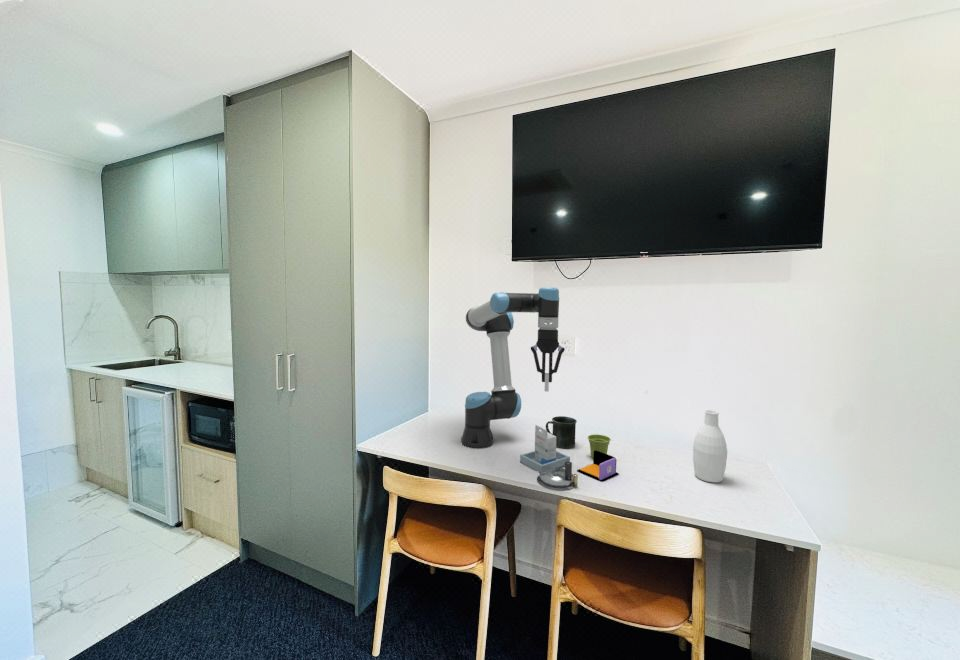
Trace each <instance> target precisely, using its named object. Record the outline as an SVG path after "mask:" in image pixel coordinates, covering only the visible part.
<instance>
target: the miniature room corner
mask: <svg viewBox="0 0 960 660" xmlns="http://www.w3.org/2000/svg"><path fill="white" fill-rule="evenodd" d="M592 459H593V461H592V463H591V464H588V465H586V466H583V467H581V468H579V469H577V470H576V472H577V473H579V474H581V475H584V476H586V477H588V478H591V479H593V480H594V481H597V482H606V481H608V480H611V479H613V478H615V477H617V476H619V475H620V473H618V472H617V458H616V457H615V456H613V455H609V454H608V453H607V454H605V453H602V452H599V451H596V450H595V451H594V455H593V458H592Z"/></svg>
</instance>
